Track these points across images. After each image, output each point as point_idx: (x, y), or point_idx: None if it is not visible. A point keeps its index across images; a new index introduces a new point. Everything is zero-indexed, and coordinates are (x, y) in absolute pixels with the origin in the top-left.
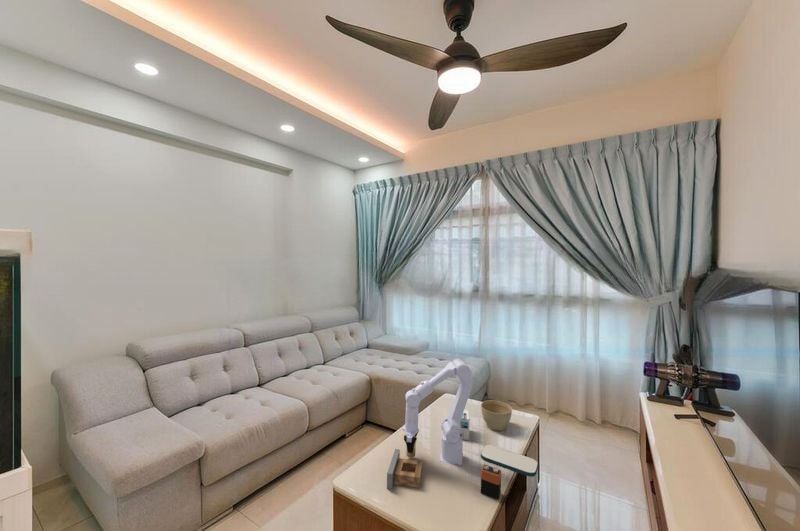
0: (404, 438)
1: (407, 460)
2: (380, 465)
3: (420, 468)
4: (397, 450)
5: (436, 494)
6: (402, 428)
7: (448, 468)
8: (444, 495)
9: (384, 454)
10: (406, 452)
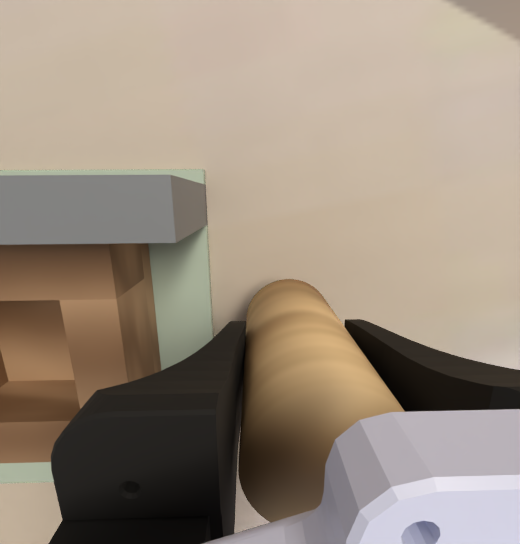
0: (63, 432)
1: (104, 335)
2: (141, 52)
3: (38, 455)
4: (143, 214)
5: (6, 484)
6: (417, 476)
7: (251, 523)
8: (18, 519)
9: (313, 50)
10: (278, 287)
